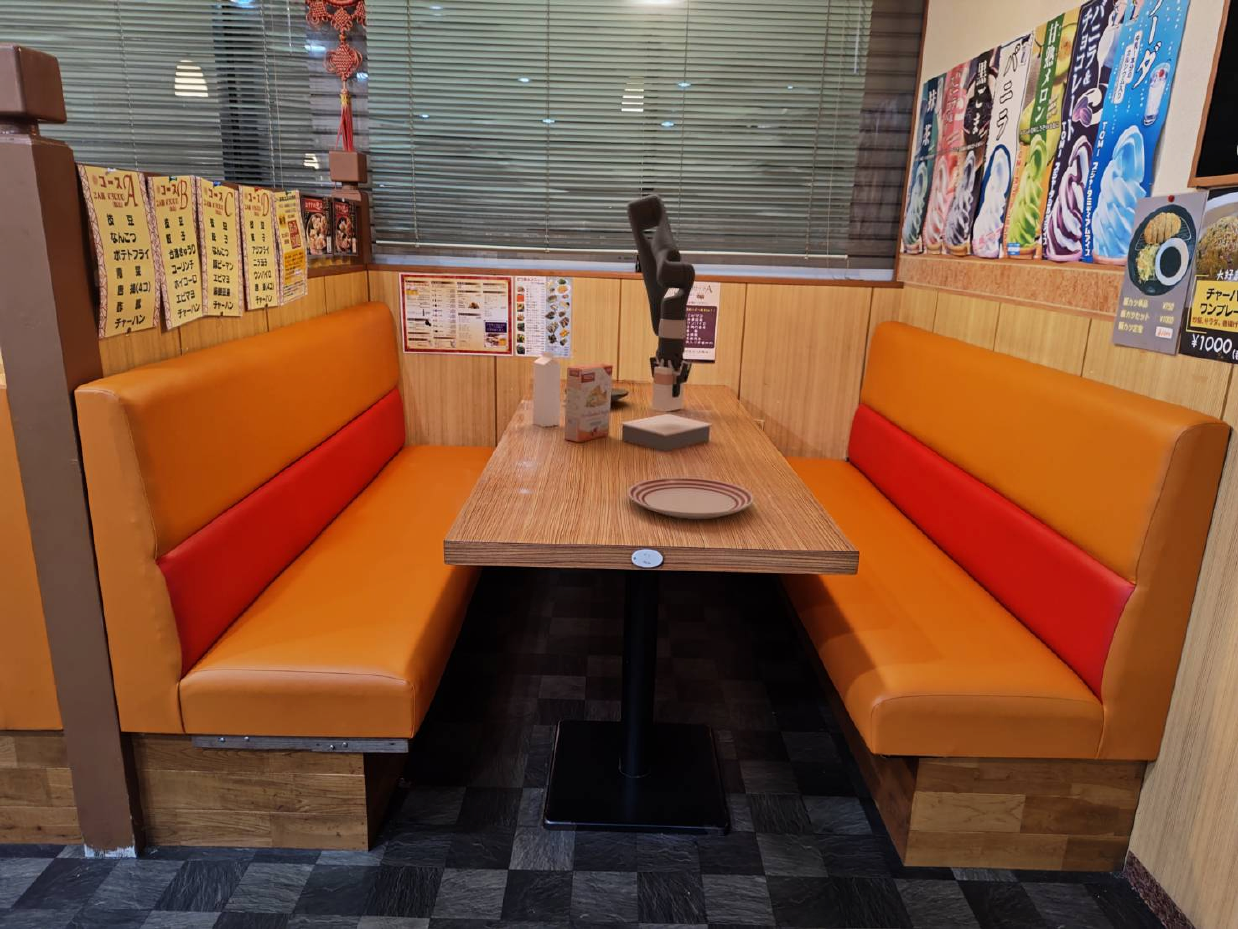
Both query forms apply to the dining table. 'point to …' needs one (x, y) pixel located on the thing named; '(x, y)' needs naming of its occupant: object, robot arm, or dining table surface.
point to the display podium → (665, 432)
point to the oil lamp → (616, 394)
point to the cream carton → (665, 390)
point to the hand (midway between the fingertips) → (668, 395)
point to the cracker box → (588, 401)
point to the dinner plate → (690, 497)
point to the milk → (546, 390)
